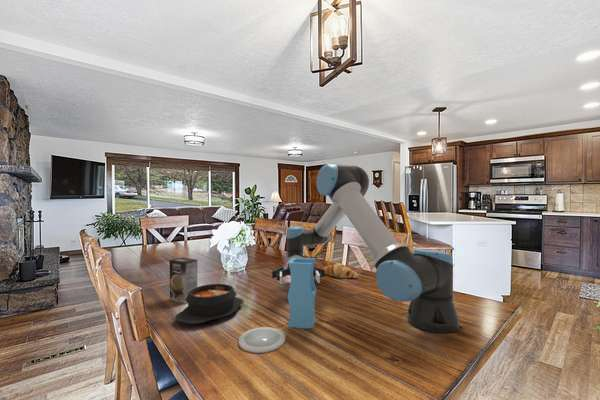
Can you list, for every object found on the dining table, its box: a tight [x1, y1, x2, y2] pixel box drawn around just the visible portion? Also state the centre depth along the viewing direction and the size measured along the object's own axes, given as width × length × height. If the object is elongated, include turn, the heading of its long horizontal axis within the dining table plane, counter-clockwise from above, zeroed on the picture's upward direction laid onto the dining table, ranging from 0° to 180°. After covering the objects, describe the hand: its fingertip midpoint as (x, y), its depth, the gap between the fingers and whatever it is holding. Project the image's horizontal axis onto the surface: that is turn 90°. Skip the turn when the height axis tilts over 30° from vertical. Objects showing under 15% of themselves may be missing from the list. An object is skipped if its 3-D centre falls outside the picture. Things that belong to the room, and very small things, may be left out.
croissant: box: [320, 262, 359, 279], centre depth 146 cm, size 21×10×8 cm, turn 57°
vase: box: [287, 257, 317, 329], centre depth 92 cm, size 8×8×20 cm
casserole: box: [174, 283, 245, 325], centre depth 99 cm, size 25×19×8 cm
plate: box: [238, 326, 286, 354], centre depth 80 cm, size 13×13×1 cm
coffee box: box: [169, 257, 198, 305], centre depth 113 cm, size 9×6×16 cm
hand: (300, 279), depth 101 cm, fingers open, 13 cm apart
